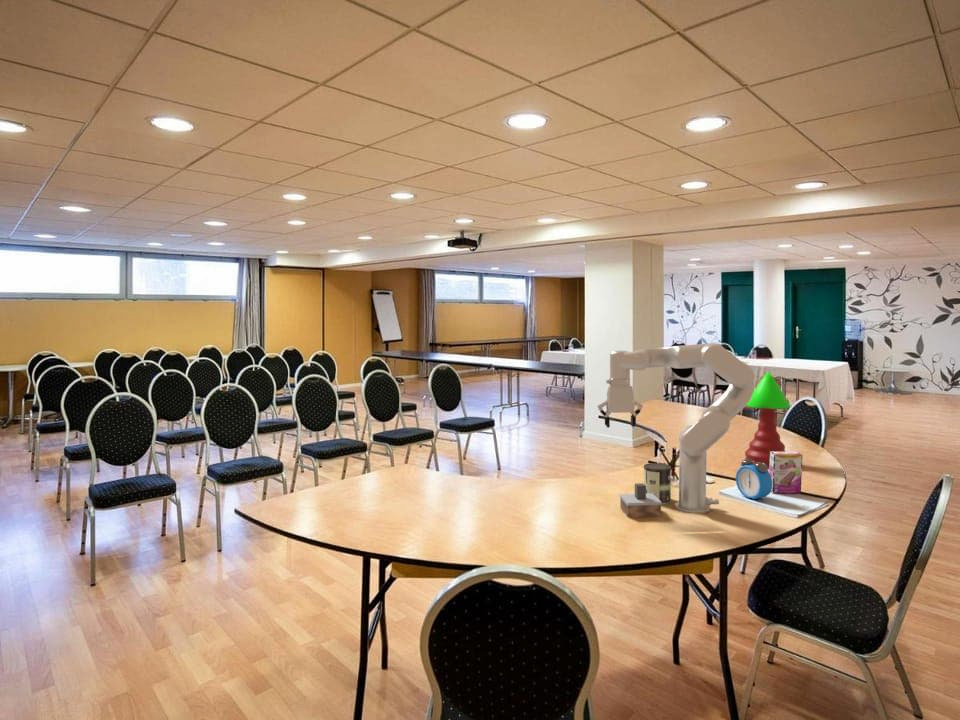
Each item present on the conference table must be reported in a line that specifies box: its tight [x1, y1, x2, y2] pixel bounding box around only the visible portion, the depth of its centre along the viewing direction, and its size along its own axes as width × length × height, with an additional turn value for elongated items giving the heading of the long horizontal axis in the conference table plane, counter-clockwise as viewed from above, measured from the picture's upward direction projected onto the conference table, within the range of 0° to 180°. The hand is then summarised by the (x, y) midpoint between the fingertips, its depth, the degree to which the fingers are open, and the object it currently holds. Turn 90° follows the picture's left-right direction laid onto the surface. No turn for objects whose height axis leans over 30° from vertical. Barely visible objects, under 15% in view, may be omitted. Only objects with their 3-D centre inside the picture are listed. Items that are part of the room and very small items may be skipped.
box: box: [619, 497, 662, 519], centre depth 217 cm, size 12×10×5 cm
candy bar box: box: [768, 451, 803, 495], centre depth 239 cm, size 11×5×16 cm, turn 84°
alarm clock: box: [735, 458, 772, 500], centre depth 233 cm, size 13×6×15 cm, turn 22°
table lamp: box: [743, 370, 792, 469], centre depth 283 cm, size 20×20×45 cm
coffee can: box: [643, 462, 672, 505], centre depth 231 cm, size 10×10×14 cm
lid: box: [619, 482, 663, 506], centre depth 216 cm, size 12×10×6 cm
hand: (620, 426), depth 228 cm, fingers open, 9 cm apart
